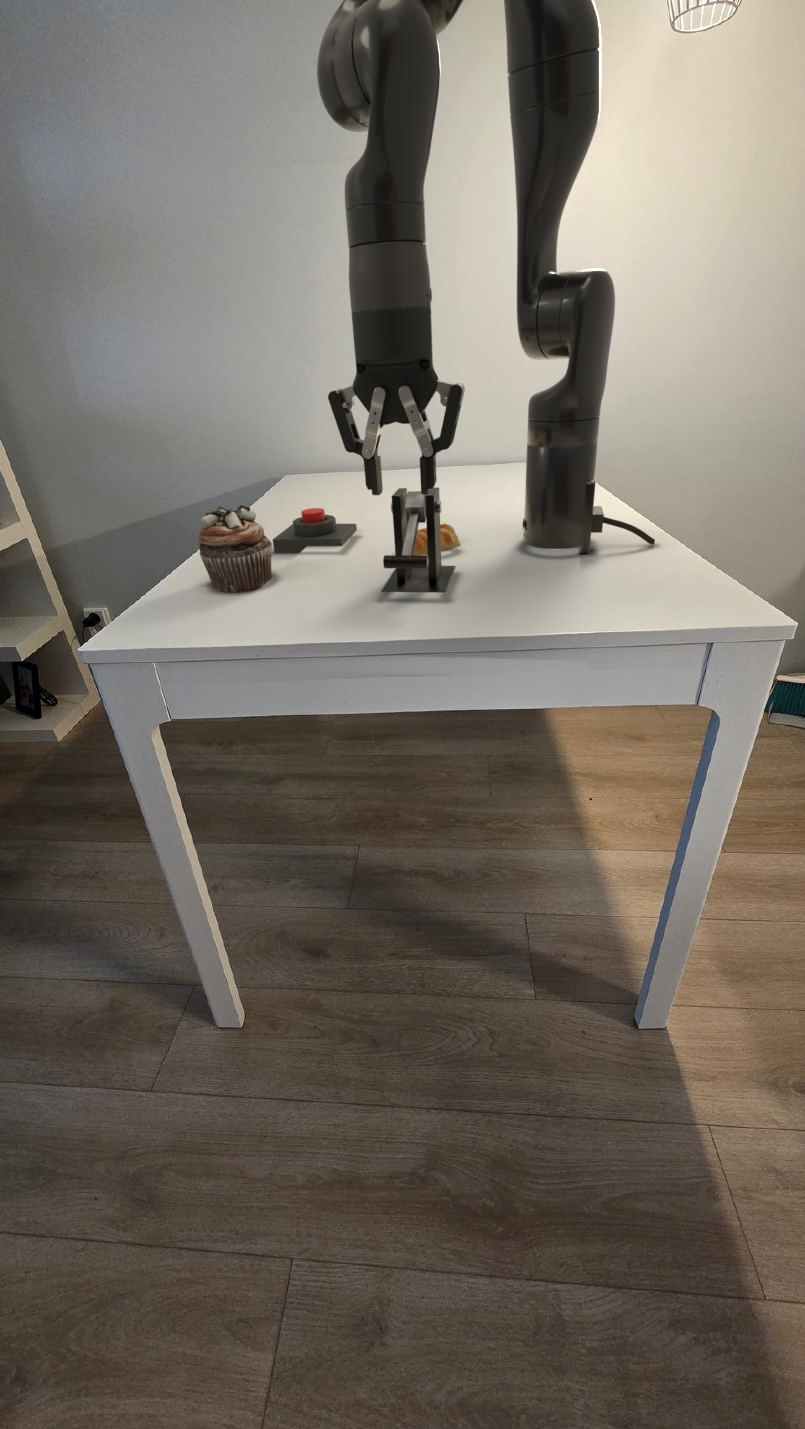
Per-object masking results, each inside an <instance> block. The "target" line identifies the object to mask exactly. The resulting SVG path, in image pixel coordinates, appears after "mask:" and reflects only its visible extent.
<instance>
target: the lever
mask: <svg viewBox="0 0 805 1429" xmlns="http://www.w3.org/2000/svg"><path fill="white" fill-rule="evenodd" d="M405 512H406V518H407V523H408V525H407V530H406V535H405V540H404V545H403V550H402V555H395V554H394V555H393V554H392V555H391V554H388V555H385V554H384V555H383V560H382V562H383V563H382V564H383V569H396V568H428V565H429V558H428V554H422V555H413V552H414V547H415V542H416V536H417V531H418V530H419V524H425V523H426V501H425V495H422V494H421V490H418V491H417V490H413V491H412V490H411V491H408V490H407V498H406V503H405Z"/></svg>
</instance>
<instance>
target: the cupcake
mask: <svg viewBox="0 0 805 1429" xmlns="http://www.w3.org/2000/svg"><path fill="white" fill-rule="evenodd" d="M256 518H257V512H255V511H254V510H252V509H251V508H250V507H249V506H247V505H244V504H240V505H239V506H238V507H237V508H236V509H231V508H229V509H226V508H224V507H223V506H218V507H216V508H214V509H213V510H212V511H211V512H206V513H205V515H204V516H203V517H201V518H200V521H199V522H200V524H201V527H202V528H201V529H200V532H199V534H198V539H197V545H199V547H198V548H199V556H200V559H201V561H202V563H203V565H204V567H205V570H206V572H207V574H208V577H209V579H210V582H211V584H212V586H213V588H214V589H215V590H217V591H219V592H222V593H244V592H250V591H254V590H258V589H261V588H262V587H264V586H265V585H266V584H267V583H269V582H270V581H271V580H272V557H273V556H272V555H273V542H272V541H271V540H270V539H269V538H268V537H267V536H266V535H265V530H264V527H263V526H262V525H261V524H260V523H258V522H257V521H256Z"/></svg>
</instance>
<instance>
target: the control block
mask: <svg viewBox="0 0 805 1429" xmlns="http://www.w3.org/2000/svg"><path fill="white" fill-rule="evenodd" d="M325 519H326V521H322V522H317V523H303V522H302V516H301V517H297V518H295V519H294V520H292V524H290V526H288V527H287V528H285V529H284V530H282V532H280V533H278V535H276V536H275V537H274V538H272V547H273V552H274V553H275V554H300V553H302V551H304V550H305V549H306V548H307V547H343V546H344V545H345V544H346V542H347V541H349V539H351V537H352V536H353V535H354V534H355V533H356V532H357V530H358V529H357V528H358V527H357V523H337V520H336V517H335V516H334V515H330V514H325Z"/></svg>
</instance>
